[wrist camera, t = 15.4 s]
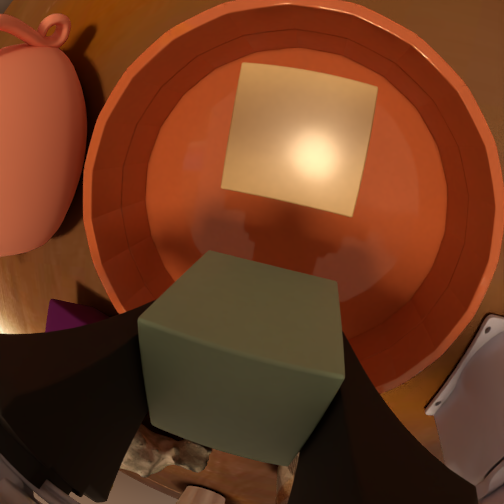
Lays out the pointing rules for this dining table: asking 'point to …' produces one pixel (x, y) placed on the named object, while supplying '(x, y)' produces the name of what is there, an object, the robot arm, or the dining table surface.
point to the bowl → (293, 215)
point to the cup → (200, 496)
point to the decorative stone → (163, 453)
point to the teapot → (38, 133)
